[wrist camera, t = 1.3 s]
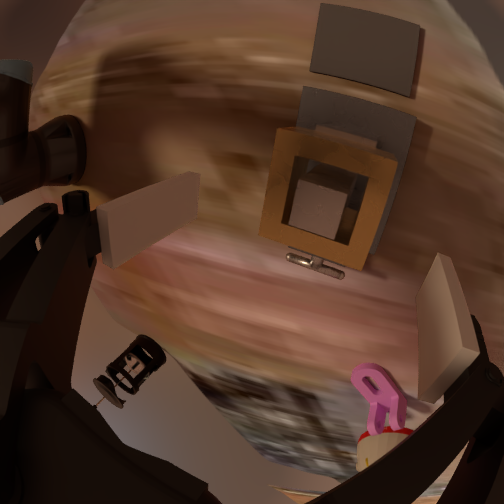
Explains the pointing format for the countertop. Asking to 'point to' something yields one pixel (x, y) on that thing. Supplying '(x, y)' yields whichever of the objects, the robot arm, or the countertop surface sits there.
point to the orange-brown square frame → (295, 166)
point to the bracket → (380, 398)
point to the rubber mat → (365, 48)
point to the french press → (137, 364)
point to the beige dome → (378, 445)
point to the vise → (338, 179)
